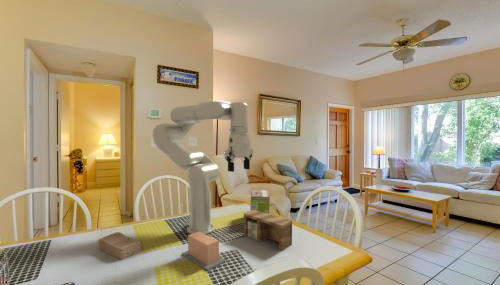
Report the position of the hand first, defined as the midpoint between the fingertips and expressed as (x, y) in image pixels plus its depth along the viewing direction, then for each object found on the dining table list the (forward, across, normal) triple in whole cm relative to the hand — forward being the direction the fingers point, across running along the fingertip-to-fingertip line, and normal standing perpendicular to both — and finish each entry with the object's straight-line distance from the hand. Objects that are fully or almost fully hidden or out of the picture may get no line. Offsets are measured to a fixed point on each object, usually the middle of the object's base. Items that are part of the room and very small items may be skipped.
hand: (239, 170), depth 104 cm
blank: (+30, -21, -2) cm, 36 cm away
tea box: (+31, +24, +8) cm, 40 cm away
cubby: (+30, +7, -10) cm, 33 cm away
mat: (+30, -21, -2) cm, 37 cm away
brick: (+31, -39, +27) cm, 57 cm away
